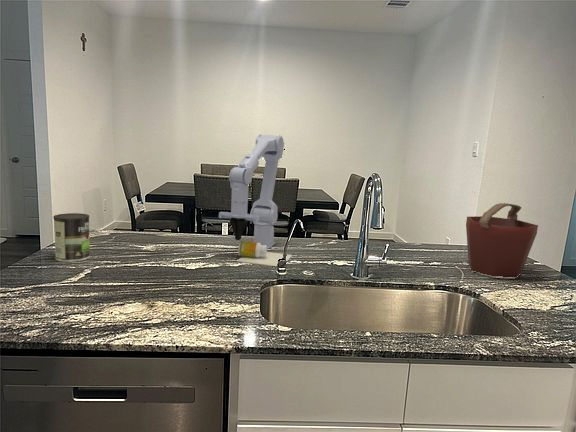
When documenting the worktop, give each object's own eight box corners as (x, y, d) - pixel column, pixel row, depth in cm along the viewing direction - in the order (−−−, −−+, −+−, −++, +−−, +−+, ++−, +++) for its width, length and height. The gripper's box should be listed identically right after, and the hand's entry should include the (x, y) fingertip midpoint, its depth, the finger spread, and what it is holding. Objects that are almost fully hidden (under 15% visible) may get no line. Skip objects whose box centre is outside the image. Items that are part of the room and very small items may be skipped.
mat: (251, 251, 158) (252, 250, 158) (292, 256, 154) (292, 255, 154) (236, 261, 143) (236, 260, 143) (281, 267, 139) (281, 266, 139)
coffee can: (95, 254, 141) (95, 214, 139) (80, 263, 131) (79, 219, 129) (66, 252, 141) (64, 212, 139) (48, 261, 131) (46, 217, 129)
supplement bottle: (236, 253, 145) (263, 256, 144) (239, 238, 147) (266, 241, 146) (240, 257, 150) (266, 260, 149) (242, 243, 152) (268, 245, 151)
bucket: (494, 262, 163) (503, 199, 158) (548, 280, 143) (560, 208, 138) (446, 266, 153) (454, 199, 149) (496, 285, 133) (507, 209, 129)
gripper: (215, 201, 143) (214, 239, 146) (255, 205, 140) (253, 244, 142) (223, 199, 150) (222, 235, 152) (261, 202, 147) (260, 239, 149)
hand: (238, 239), depth 148 cm, fingers closed
